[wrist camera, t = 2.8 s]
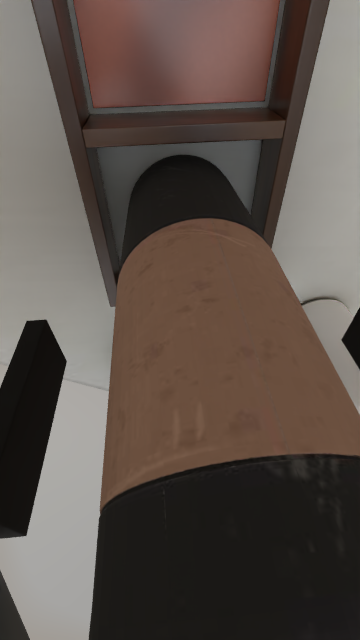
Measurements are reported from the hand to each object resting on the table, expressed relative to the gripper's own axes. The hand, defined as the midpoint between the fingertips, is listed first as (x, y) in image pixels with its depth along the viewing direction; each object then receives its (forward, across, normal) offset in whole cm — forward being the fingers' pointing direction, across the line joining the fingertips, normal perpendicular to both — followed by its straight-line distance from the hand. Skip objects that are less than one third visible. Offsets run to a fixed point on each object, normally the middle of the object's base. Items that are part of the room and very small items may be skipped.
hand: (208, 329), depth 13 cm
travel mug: (+11, 0, 0) cm, 11 cm away
